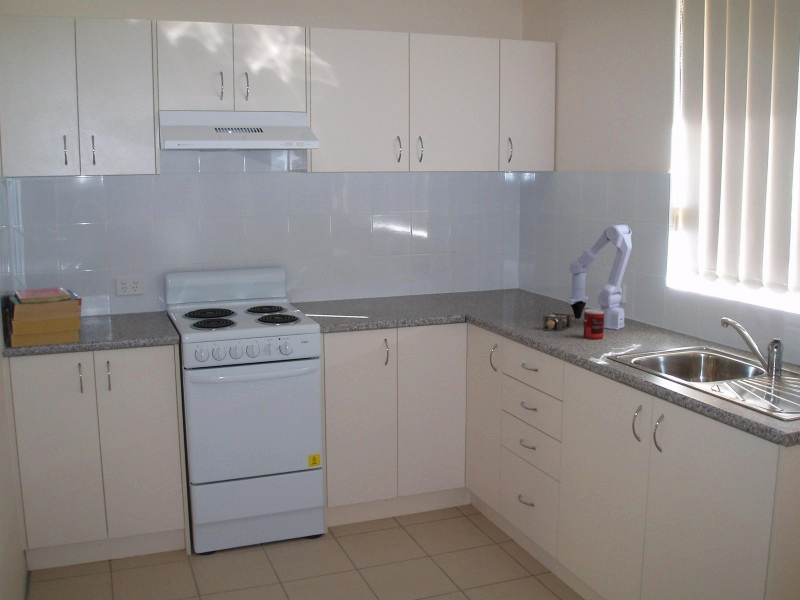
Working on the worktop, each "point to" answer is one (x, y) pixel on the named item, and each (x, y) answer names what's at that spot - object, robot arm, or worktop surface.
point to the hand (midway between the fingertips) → (577, 318)
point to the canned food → (593, 324)
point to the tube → (553, 322)
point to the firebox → (558, 321)
